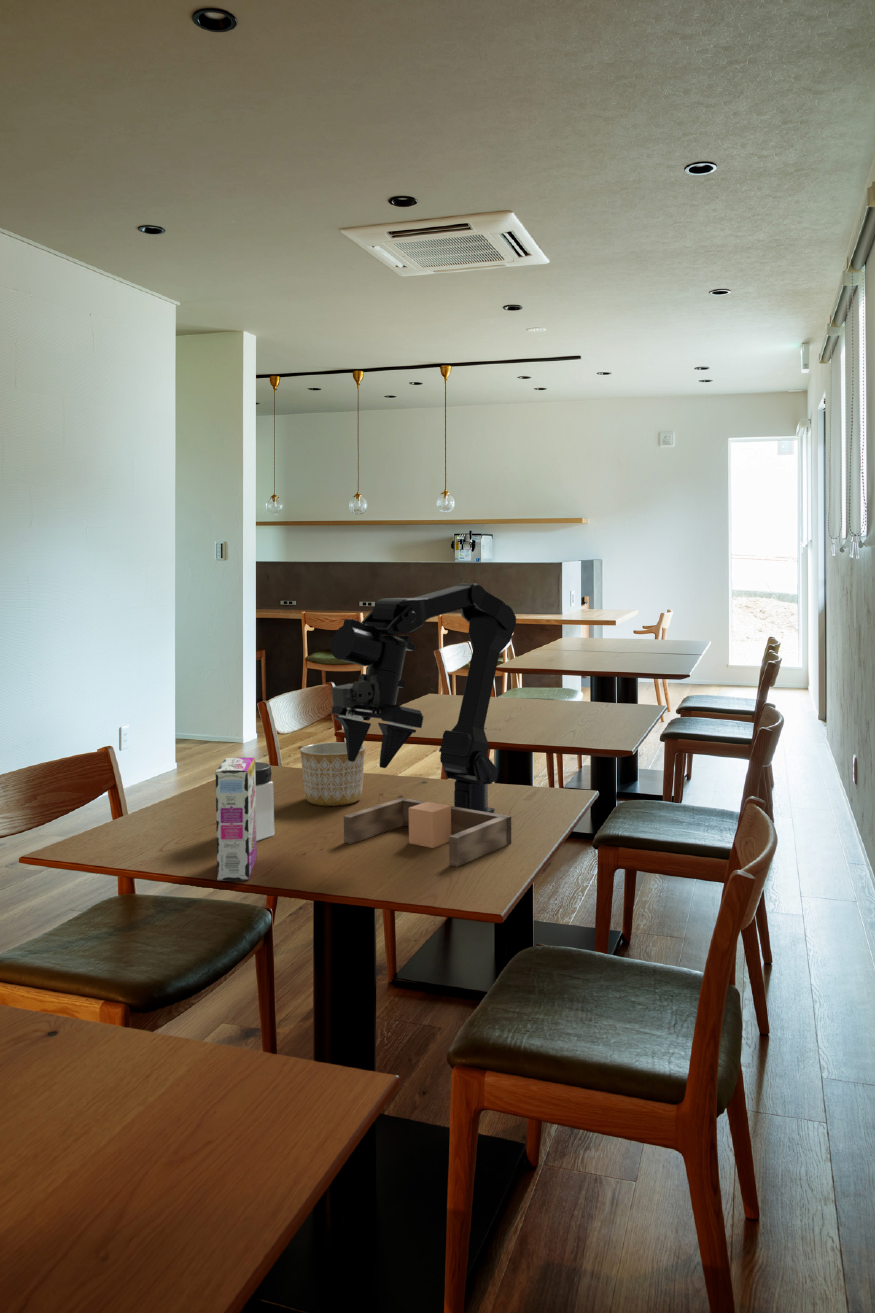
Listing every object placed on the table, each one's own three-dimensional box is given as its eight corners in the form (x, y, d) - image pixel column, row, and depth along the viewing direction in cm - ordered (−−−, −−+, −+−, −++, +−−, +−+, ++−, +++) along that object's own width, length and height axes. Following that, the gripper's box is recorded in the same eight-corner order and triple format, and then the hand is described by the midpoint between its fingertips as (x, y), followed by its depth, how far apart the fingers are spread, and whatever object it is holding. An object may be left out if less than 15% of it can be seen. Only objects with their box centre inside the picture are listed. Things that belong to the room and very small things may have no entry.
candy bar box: (251, 881, 141) (248, 770, 140) (216, 882, 141) (213, 771, 139) (259, 858, 152) (256, 755, 151) (226, 859, 152) (223, 756, 150)
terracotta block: (427, 836, 164) (426, 801, 163) (451, 841, 161) (450, 805, 160) (409, 843, 160) (408, 807, 159) (433, 848, 157) (432, 812, 156)
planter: (377, 802, 188) (377, 749, 187) (319, 811, 181) (318, 756, 180) (346, 790, 199) (345, 740, 198) (290, 798, 192) (289, 746, 191)
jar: (279, 838, 163) (277, 768, 162) (231, 845, 160) (229, 773, 158) (264, 826, 171) (263, 759, 170) (219, 832, 168) (216, 764, 166)
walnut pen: (402, 822, 173) (401, 797, 172) (511, 843, 159) (511, 816, 159) (344, 842, 160) (343, 816, 160) (457, 866, 147) (457, 838, 146)
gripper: (314, 660, 163) (296, 751, 162) (378, 664, 149) (358, 764, 147) (367, 673, 170) (350, 760, 169) (433, 678, 156) (415, 774, 154)
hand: (366, 764), depth 159 cm, fingers open, 9 cm apart
